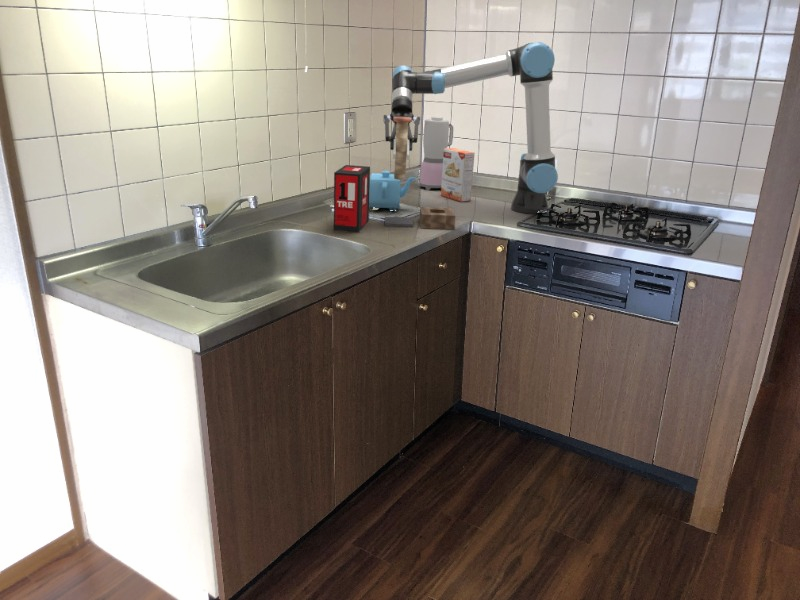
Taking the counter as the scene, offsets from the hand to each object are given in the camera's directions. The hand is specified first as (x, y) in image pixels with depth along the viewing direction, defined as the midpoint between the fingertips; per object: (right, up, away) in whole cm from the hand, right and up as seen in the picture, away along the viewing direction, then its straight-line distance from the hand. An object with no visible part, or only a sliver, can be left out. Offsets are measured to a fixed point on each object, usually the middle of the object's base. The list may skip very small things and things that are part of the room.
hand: (401, 156), depth 228 cm
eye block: (+13, -22, +13) cm, 29 cm away
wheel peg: (-1, -6, +6) cm, 9 cm away
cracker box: (+24, -6, +57) cm, 62 cm away
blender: (+16, +2, +78) cm, 79 cm away
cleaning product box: (-18, -23, +6) cm, 30 cm away
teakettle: (-7, -13, +35) cm, 38 cm away
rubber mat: (-1, -22, +12) cm, 25 cm away
